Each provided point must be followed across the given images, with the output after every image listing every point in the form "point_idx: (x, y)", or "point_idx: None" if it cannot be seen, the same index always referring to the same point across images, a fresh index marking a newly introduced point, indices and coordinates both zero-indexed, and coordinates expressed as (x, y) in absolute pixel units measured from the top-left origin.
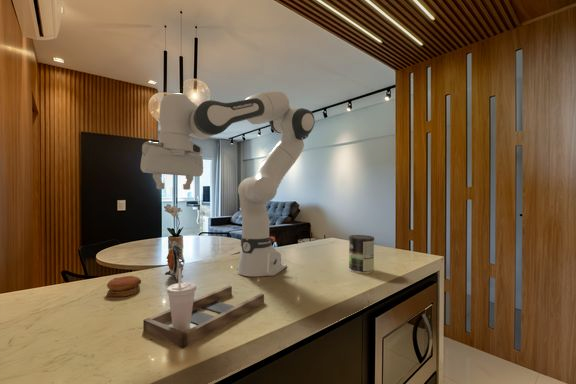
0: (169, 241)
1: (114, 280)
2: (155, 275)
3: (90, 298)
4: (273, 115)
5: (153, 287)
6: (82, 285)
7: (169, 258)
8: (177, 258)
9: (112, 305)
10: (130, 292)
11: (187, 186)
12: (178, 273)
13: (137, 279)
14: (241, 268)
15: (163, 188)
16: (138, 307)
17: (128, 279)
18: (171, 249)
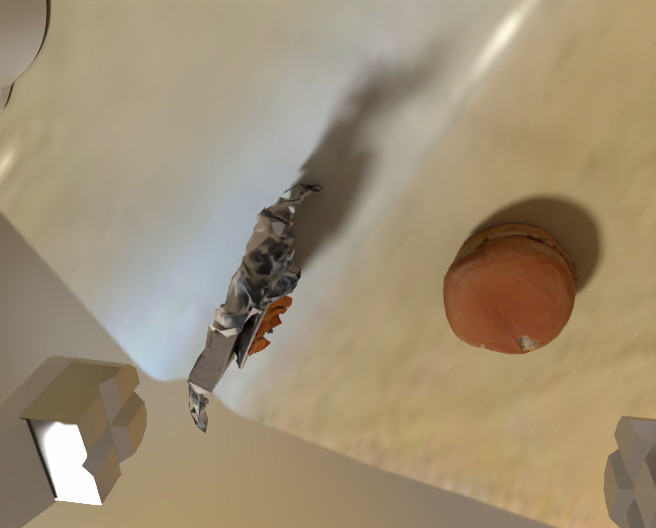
0: (203, 423)
1: (538, 328)
2: (304, 349)
3: (610, 321)
4: None
5: (407, 229)
6: (526, 460)
7: (273, 318)
8: (289, 236)
9: (632, 184)
10: (523, 228)
11: (85, 388)
12: (287, 221)
13: (477, 266)
14: (18, 16)
15: (637, 419)
16: (606, 69)
17: (510, 284)
18: (252, 339)
